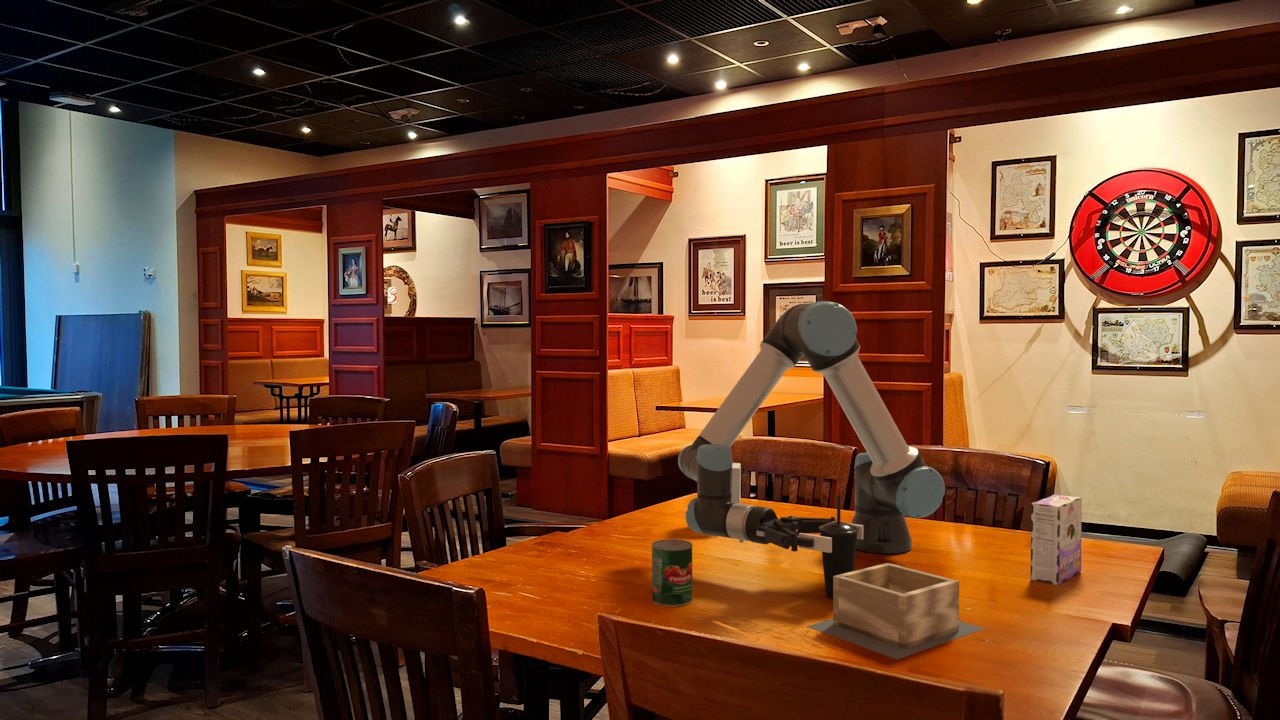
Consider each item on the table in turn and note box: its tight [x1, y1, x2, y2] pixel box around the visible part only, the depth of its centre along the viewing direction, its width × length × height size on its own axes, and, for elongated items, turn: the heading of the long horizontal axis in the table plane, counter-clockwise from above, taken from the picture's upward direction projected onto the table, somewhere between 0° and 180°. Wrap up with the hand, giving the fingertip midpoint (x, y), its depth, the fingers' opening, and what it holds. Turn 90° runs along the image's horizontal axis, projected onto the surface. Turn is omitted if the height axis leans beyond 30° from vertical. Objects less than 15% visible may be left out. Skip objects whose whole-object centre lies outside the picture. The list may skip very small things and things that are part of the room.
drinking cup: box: [819, 495, 859, 600], centre depth 165 cm, size 8×8×20 cm
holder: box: [832, 562, 960, 649], centre depth 147 cm, size 15×15×8 cm
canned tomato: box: [651, 538, 693, 607], centre depth 164 cm, size 8×8×11 cm
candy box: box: [1030, 494, 1082, 586], centre depth 180 cm, size 14×6×16 cm, turn 135°
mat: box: [806, 618, 986, 660], centre depth 147 cm, size 24×19×1 cm
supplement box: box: [732, 462, 742, 504], centre depth 228 cm, size 10×9×17 cm
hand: (847, 538), depth 163 cm, fingers open, 13 cm apart
